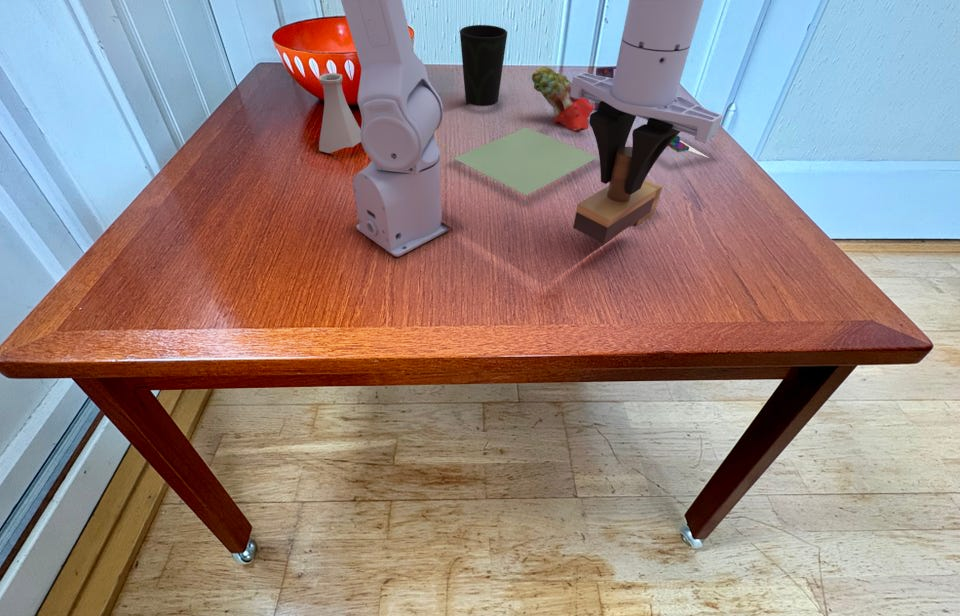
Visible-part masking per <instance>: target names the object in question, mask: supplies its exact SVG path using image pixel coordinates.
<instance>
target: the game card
mask: <svg viewBox="0 0 960 616" xmlns="http://www.w3.org/2000/svg"><path fill="white" fill-rule="evenodd" d="M615 70H616V65H615V66H600V67H596V68H595V75H597V76H602V77H608V78H614V75H615ZM594 106H595V108H594V109H595V110H596V111H597V108H598V107H599V103H597V102H594Z"/></svg>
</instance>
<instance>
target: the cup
mask: <svg viewBox="0 0 960 616" xmlns="http://www.w3.org/2000/svg"><path fill="white" fill-rule="evenodd" d="M459 37H460V49H461V60H462V61H461V63H462V73H463V86H464V87H463V88H464V99H465V106H468V105H473V106H478V107H487V106H493V105H495V104H497V103H498V102H499V95H500V89H501V82H502V75H503V67H504V60H505V55H506V54H505V53H506V46H507V39H508V31H507V30H506V29H505V28H503V27H500V26H496V25H489V24H475V25H474V24H473V25H467V26H464V27H462V28H460V30H459Z"/></svg>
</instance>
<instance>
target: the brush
mask: <svg viewBox="0 0 960 616" xmlns="http://www.w3.org/2000/svg"><path fill="white" fill-rule="evenodd" d="M631 158H632V146H625V147H620V148H618V150H617V153H616V157H615V162H614V166H613V170H612V175H611V179H610V182H609V184H608V185H607V186H606V187H604V188H603V189H601V190H599V191H597V192H596V193H594V194H592V195H590V196H588V197H587V198H585V199H583V200H582V201H580V202H578V203H577V204H576V205H577V206H576V210H575V217H574V221H573V225H572V226H573V227H572V228H573V229H575V230H576V231H578V232H581V233H582V234H584V235H586V236H587V237H590V238H591V239H593V240H595V241H597V242H599V243H600V244H602V245H603V244H606V243H608V242H609V241H610V240H611V239H613V238H615V237H616V236H617V235H619V234H620V233H622V232H624V231H625V230H626V229H628V228H630V227H631V226H632V225H634V223H635V222H637V221H638V220H640V219H641V218H643V217H644V216H646V215H647V214H649V213H650V211H652V210H651V208H652V204H653V201H654V198H655V195H656V191H657V189H656V188H653V187H651V186H649V185H646V184H644V183H643V184H642V186H641V189H639V190H638V191H636V192H634V193H633V194H631V195H629V194H627V193H625V184H626V180H627V176H628V173H629V169H630V165H631Z"/></svg>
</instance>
